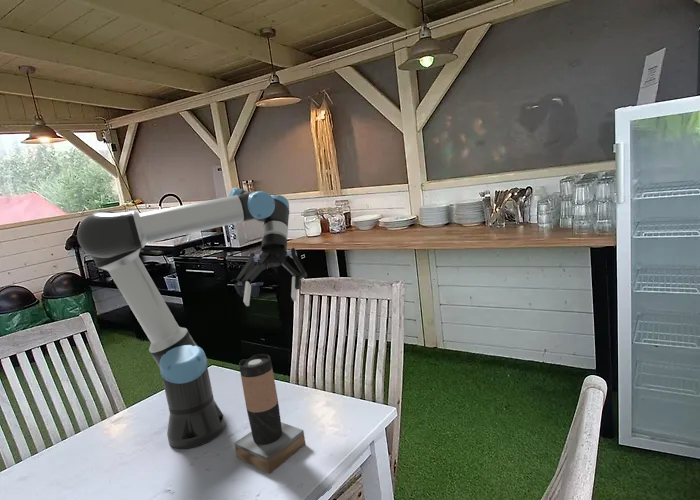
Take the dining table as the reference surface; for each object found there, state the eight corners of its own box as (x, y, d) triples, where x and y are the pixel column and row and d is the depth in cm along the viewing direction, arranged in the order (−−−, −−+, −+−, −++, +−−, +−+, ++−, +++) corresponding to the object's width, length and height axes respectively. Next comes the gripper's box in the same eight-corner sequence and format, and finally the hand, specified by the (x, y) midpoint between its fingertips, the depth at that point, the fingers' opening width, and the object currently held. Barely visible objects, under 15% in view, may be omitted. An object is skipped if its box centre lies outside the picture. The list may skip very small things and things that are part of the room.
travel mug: (278, 444, 106) (265, 366, 102) (247, 446, 107) (233, 368, 103) (286, 426, 113) (274, 352, 110) (257, 427, 114) (244, 354, 111)
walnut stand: (237, 457, 109) (234, 443, 109) (273, 431, 119) (270, 418, 118) (269, 473, 102) (267, 457, 101) (305, 444, 111) (303, 430, 110)
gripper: (317, 241, 137) (316, 303, 125) (239, 250, 140) (231, 311, 128) (312, 227, 131) (310, 290, 119) (230, 237, 134) (221, 299, 122)
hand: (269, 301), depth 123 cm, fingers open, 13 cm apart
